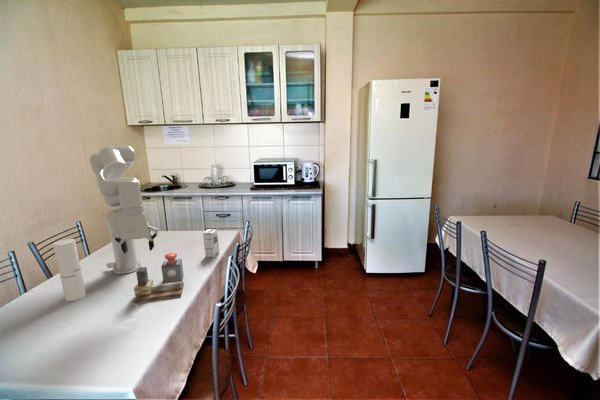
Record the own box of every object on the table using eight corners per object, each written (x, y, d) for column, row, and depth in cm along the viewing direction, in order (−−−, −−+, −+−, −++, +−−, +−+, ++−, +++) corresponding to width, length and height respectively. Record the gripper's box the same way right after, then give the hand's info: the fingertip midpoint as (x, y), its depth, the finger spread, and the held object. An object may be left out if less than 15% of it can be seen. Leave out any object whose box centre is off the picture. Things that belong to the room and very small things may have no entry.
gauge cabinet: (163, 284, 135) (161, 266, 133) (165, 278, 141) (163, 261, 139) (182, 282, 137) (180, 264, 135) (183, 276, 143) (181, 258, 141)
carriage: (135, 296, 122) (131, 273, 120) (138, 289, 128) (135, 267, 126) (150, 294, 124) (147, 271, 121) (153, 287, 130) (150, 265, 127)
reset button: (165, 270, 135) (163, 258, 133) (167, 265, 140) (165, 253, 138) (177, 269, 136) (176, 256, 135) (178, 264, 141) (177, 252, 139)
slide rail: (134, 303, 121) (133, 294, 120) (140, 290, 130) (139, 282, 129) (181, 296, 125) (180, 287, 125) (183, 284, 135) (182, 276, 134)
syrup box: (214, 257, 164) (212, 232, 160) (204, 256, 165) (202, 232, 162) (219, 253, 169) (217, 229, 166) (209, 252, 170) (207, 228, 167)
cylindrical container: (89, 293, 129) (79, 239, 123) (73, 302, 122) (60, 246, 116) (78, 290, 131) (67, 238, 125) (61, 299, 125) (48, 244, 119)
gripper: (104, 215, 112) (112, 257, 116) (154, 210, 116) (159, 251, 120) (111, 210, 119) (118, 250, 123) (157, 206, 123) (163, 245, 127)
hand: (138, 250), depth 121 cm, fingers open, 9 cm apart
